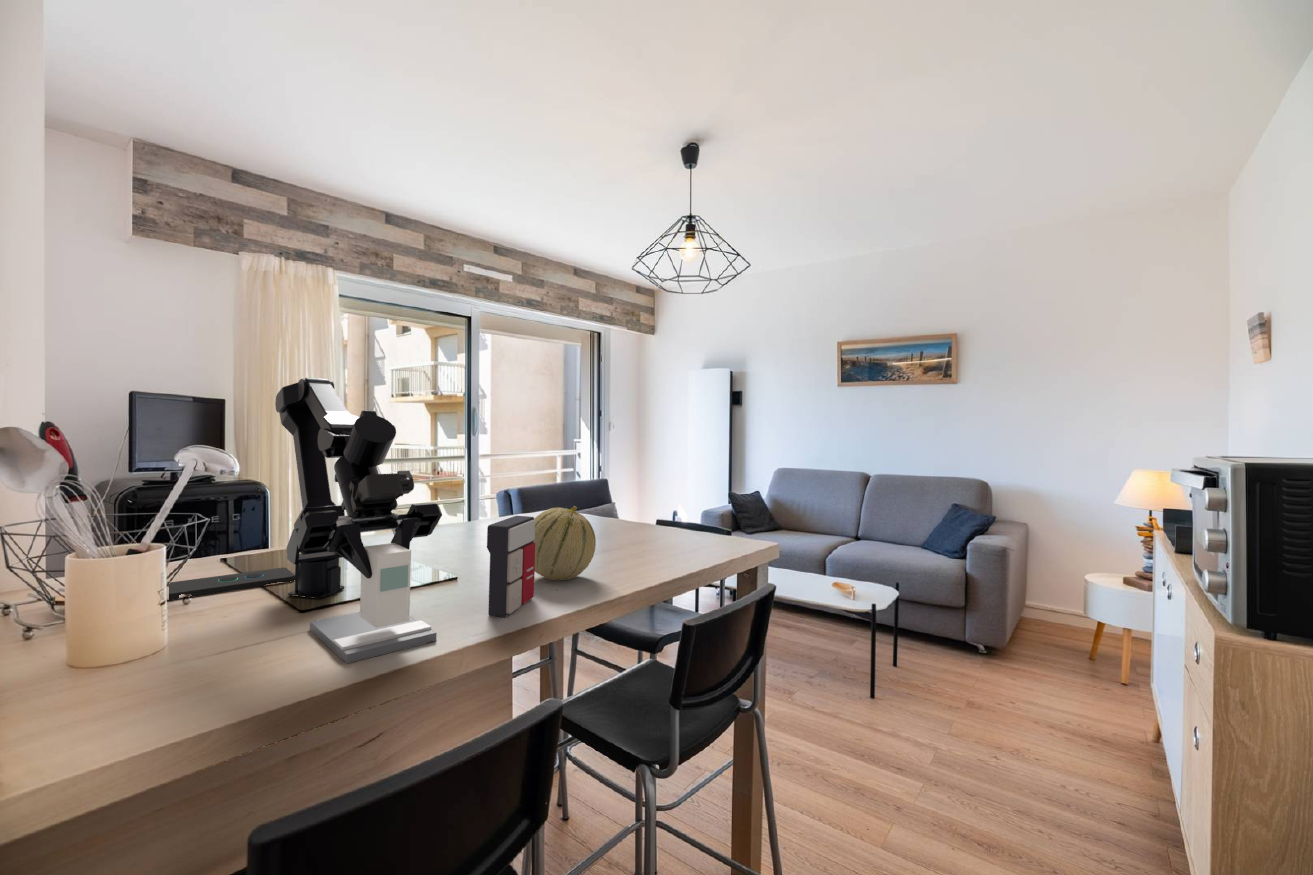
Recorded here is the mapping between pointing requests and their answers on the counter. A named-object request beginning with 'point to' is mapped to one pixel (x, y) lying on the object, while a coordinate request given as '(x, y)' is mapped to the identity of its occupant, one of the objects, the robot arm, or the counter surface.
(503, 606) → the grey red panelled box
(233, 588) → the smart home device
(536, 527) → the cantaloupe
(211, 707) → the counter surface
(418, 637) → the grey flat rectangular slab
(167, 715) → the counter surface
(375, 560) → the block
